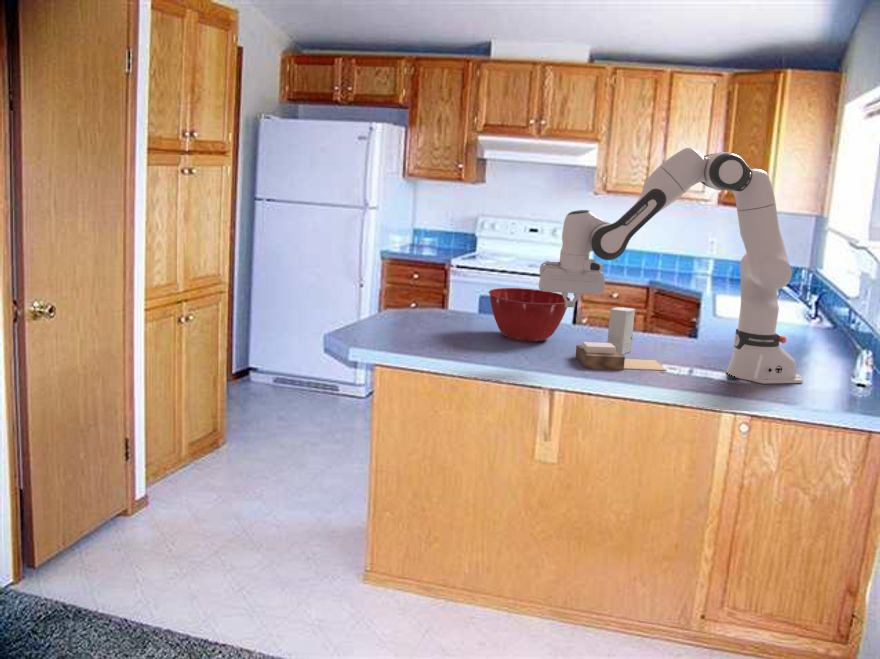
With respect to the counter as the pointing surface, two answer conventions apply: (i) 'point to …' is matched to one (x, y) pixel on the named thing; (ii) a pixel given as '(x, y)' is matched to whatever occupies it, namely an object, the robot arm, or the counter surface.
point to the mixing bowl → (527, 313)
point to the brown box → (600, 359)
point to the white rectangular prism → (599, 347)
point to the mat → (642, 364)
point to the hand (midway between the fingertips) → (569, 307)
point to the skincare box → (621, 328)
